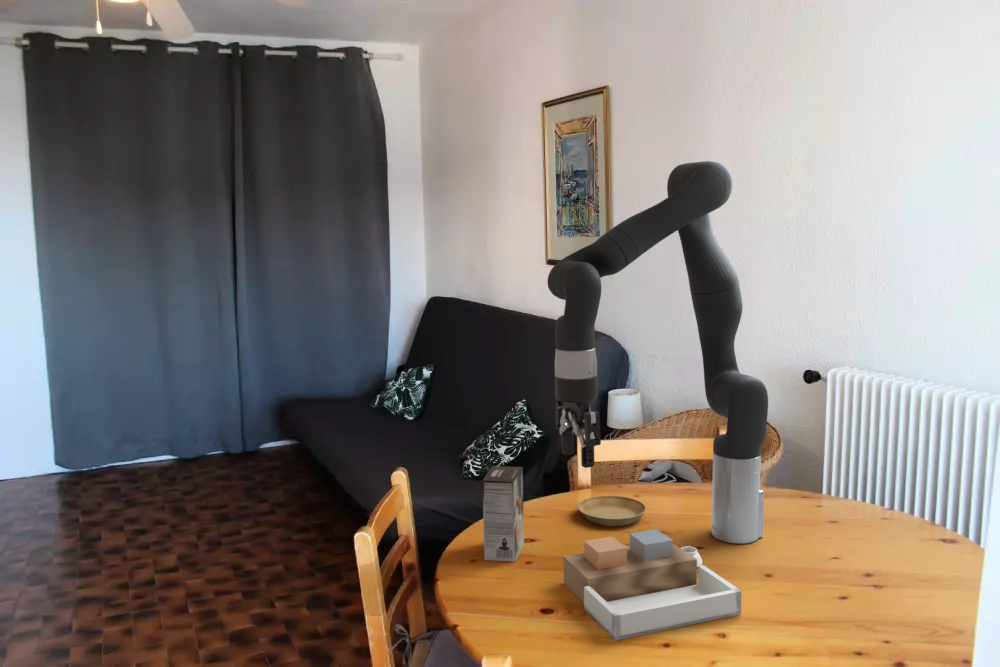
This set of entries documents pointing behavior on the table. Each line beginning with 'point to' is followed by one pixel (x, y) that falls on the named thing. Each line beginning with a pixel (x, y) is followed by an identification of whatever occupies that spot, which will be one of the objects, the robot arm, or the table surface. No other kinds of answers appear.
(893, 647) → the table surface
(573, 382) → the robot arm
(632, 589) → the brown wooden slab
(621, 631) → the box
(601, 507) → the plant saucer
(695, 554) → the white jar
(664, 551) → the blue grey flat block
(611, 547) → the tile terracotta
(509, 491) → the coffee box
